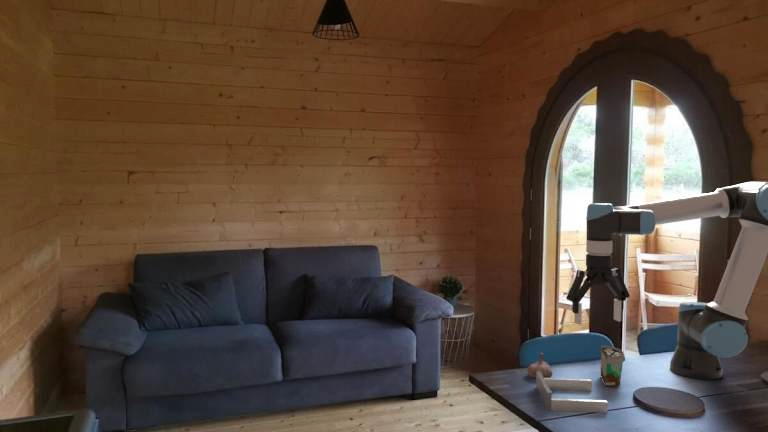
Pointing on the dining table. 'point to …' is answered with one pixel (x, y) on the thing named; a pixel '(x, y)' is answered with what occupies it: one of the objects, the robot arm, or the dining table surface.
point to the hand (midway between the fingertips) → (597, 322)
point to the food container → (611, 365)
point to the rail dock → (567, 404)
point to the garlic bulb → (540, 368)
